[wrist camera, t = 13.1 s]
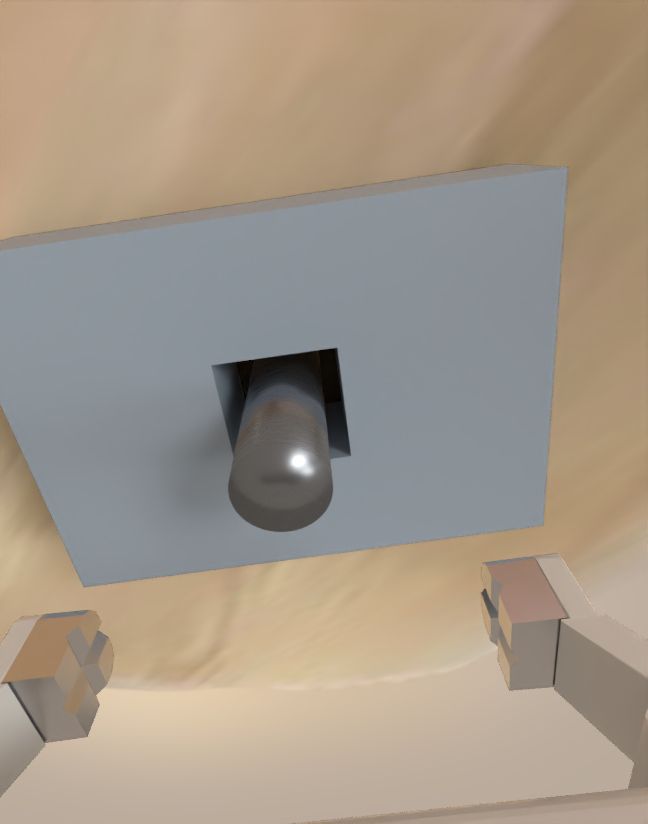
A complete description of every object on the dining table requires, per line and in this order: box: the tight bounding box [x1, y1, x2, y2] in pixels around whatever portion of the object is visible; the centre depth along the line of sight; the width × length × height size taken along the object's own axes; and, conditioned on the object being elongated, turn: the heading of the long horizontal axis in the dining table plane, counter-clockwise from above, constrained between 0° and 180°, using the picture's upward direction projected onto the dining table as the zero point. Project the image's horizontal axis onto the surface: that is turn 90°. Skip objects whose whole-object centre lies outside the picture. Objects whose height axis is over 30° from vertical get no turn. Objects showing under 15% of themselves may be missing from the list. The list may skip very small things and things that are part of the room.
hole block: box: [0, 164, 568, 587], centre depth 22 cm, size 20×14×5 cm
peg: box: [228, 350, 333, 532], centre depth 19 cm, size 3×3×10 cm
